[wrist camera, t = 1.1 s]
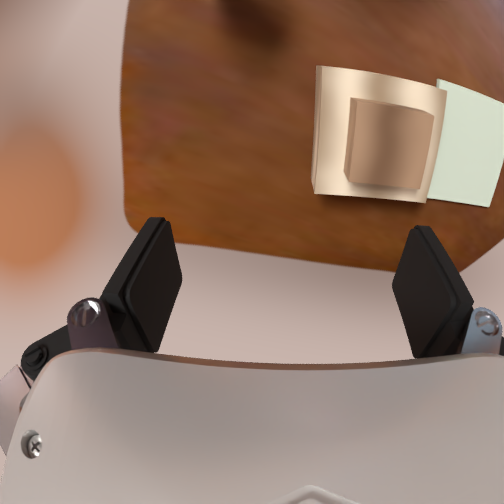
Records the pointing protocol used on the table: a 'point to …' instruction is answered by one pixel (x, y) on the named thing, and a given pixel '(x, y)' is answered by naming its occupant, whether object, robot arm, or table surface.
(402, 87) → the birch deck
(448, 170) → the sage mat
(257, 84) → the table surface
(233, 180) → the table surface
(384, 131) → the walnut block
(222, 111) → the table surface
